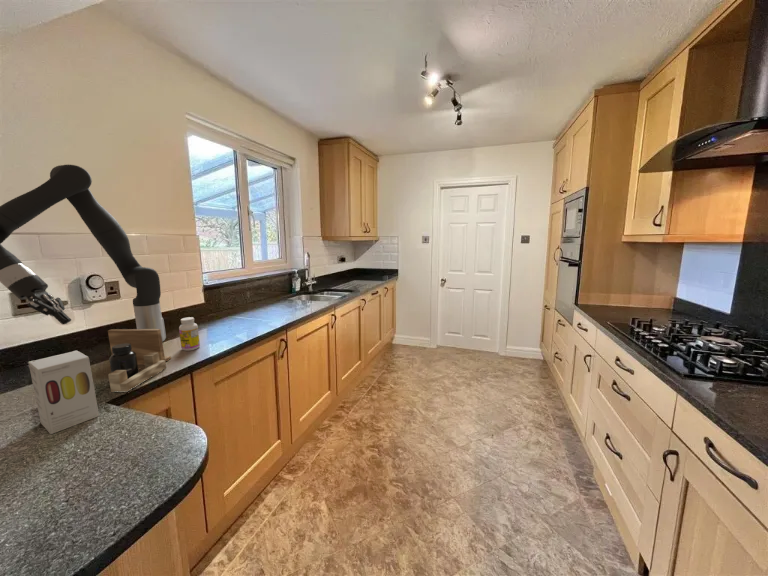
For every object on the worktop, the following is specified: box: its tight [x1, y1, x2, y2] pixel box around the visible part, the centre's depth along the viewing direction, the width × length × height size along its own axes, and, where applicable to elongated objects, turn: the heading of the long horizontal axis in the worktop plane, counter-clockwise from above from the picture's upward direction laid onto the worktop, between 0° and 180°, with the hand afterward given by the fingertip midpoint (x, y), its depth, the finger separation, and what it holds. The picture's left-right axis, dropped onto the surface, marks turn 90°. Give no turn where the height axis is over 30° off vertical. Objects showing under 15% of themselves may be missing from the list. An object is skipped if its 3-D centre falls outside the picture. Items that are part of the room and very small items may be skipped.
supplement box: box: [27, 349, 100, 435], centre depth 80 cm, size 10×9×17 cm
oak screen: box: [107, 328, 172, 365], centre depth 116 cm, size 5×18×13 cm, turn 90°
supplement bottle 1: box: [108, 343, 140, 379], centre depth 102 cm, size 7×7×12 cm
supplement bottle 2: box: [178, 316, 201, 352], centre depth 129 cm, size 7×7×13 cm
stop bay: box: [107, 353, 167, 392], centre depth 102 cm, size 17×5×6 cm, turn 0°
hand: (67, 322), depth 103 cm, fingers closed
